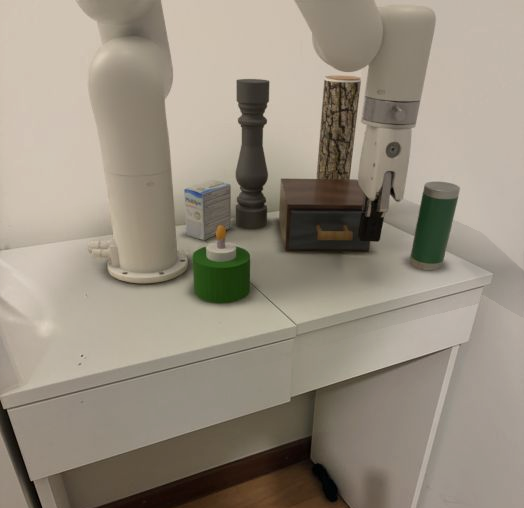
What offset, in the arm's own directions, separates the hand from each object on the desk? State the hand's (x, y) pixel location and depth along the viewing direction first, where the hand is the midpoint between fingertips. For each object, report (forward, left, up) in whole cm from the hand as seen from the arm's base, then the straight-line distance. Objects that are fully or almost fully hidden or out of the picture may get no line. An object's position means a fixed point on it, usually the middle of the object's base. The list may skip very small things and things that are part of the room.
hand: (368, 239), depth 81 cm
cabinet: (-5, +16, -5) cm, 17 cm away
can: (+11, +3, -5) cm, 13 cm away
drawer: (-5, +12, -4) cm, 13 cm away
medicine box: (-26, +17, -6) cm, 31 cm away
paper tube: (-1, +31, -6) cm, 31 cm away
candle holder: (-18, +22, -6) cm, 29 cm away
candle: (-23, -7, -6) cm, 25 cm away
